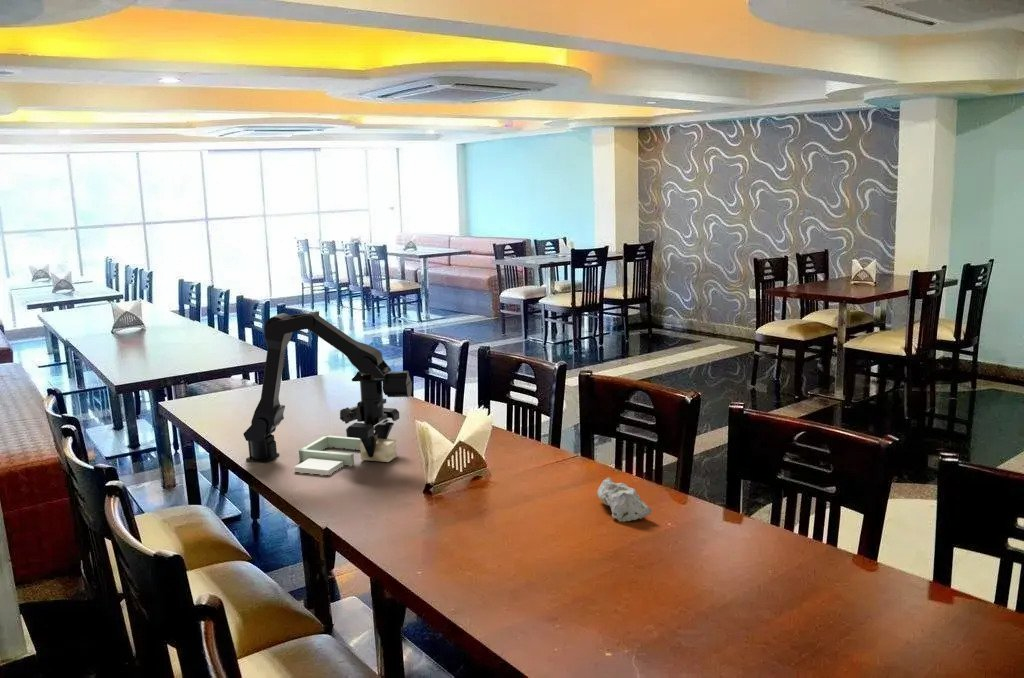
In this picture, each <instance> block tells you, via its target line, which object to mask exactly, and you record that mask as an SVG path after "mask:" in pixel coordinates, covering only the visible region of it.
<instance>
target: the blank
mask: <svg viewBox="0 0 1024 678" xmlns="http://www.w3.org/2000/svg"><path fill="white" fill-rule="evenodd" d="M359 451H360V460H361V461H372V462H373V461H374V462H383V463H389V462H390V461H392V460H394V459H395V458H396V457H397V456H398V453H397V451H398V450H397V440H396V439H392V438H391V439H390V438H387V439H381V438H377V441H376V446H375V450H374V454H373V457H369V456H368V454H367V452H366V450H365V447H364V445H363V443H362V442H361V443H360V450H359Z"/></svg>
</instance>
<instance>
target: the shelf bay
mask: <svg viewBox="0 0 1024 678" xmlns="http://www.w3.org/2000/svg"><path fill="white" fill-rule="evenodd" d="M361 442H362V441H361V439H359V438H351V437H347V436H341V435H340V436H338V435H328V434H327V435H324V436H322V437H320V438H318V439H317V440H315V441H313V442H311V443H309V444H308V445H305V446H304V447H302V448H301V449H299V450H298V459H299V462H302V461H305V460H307V459H309V458H314V459H325V460H335V461H343V465H349V466H348V467H353V466H354V465H355V456H354V453H347V452H337V451H327V450H326V449H327V448H332V447H335V448H334V449H343V448H345V449H344V450H346V449H347V450H355V449H356V451H360V443H361ZM325 448H326V449H325ZM323 449H324V450H323ZM352 465H353V466H352Z"/></svg>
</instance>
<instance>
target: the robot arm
mask: <svg viewBox="0 0 1024 678" xmlns="http://www.w3.org/2000/svg"><path fill="white" fill-rule="evenodd" d="M263 330H264V341H265V344H266V347H267V352H266V358H265V364H264V365H265V366H264V373H263V380H262V387H261V396H260V400H259V401H258V404H257V406H256V408H255V410H254V412H253V416H252V418H251V421H250V426H249V427H248V428H247V429H246V430H245V431H244V432H243V437H244V439H245V441H247V442H248V443H247V444H248V445H247V446H248V454H249V456H248V457H246V458H245V461H247V462H257V463H268V462H270V461H271V460H273V459H275V458H277V457H278V456H280V453H279V452H278V450H277V442H276V440H275V435H274V434H273V433H275V432H276V429H277V427H278V426H279V425H281V422H282V421H284V419H285V417H284V413H285V410H286V409H285V408H286V405H283V404H281V402H280V399H279V397H280V396H279V395H280V389H281V383H282V376H283V369H284V362H285V356H286V349H287V347H288V345H289V343H290V340H291V339H292V337H293V334H294V332H299V331H303V330H309V331H310V332H311V333H313V334H314V335H315V336H318V338H320V339H322V340H323V341H325V342H326V343H328V344H329V345H330V346H331V347H333V348H335V349H336V350H337V351H339V352H341V353H342V354H343V355H345V357H346V358H347V359H348V360H349V362H350V363H351V364H352V366H354V368H356V370H357V371H356V373H355V375H354V377H352V378H351V382H359V387H360V388H359V389H360V401H358V402H357V403H356V406H353V407H350V408H349V407H345V408H342V409H340V410H339V420H341V421H342V422H344V424H346V425H347V424H349V423H350V422H354V421H357V422H354V423H352V424H351V425H349V426H348V427H347V428H346V429H345V432H346V433H345V434H346V437H351V438H359V439H361V441H362V443H363V445H364V447H365V450H366V452H367V454H368V456H369V457H373V454H374V450H375V446H376V441H377V438H381V439H389V435H390V434H391V431H392V428H393V426H394V425H395V422H397V421H398V420H399V419H400V411H399V410H398V409H397V408H392V407H384V405H385V404H386V403H387V398H410V397H411V396H412V390H413V383H412V380H411V379H412V378H411V377H410V372H409V370H402V371H392V368H391V367H390V366H389V365H388V363H387V362H386V361H385V360H384V357H383V354H382V352H381V351H380V349H377V348H376V347H373V346H372V345H369V344H367V343H364V342H361V341H360V342H359V341H357V340H355V339H353V338H352V337H350V335H348V334H346V333H345V332H344V331H342V330H341V329H339V328H338V327H337V326H335V325H334V324H332V323H330V322H329V321H328V320H326V319H324V318H323V317H322V316H320V315H319V313H317V312H316V311H310V312H307V313H297V314H292V315H290V314H288V313H278V314H276V315H274V316H271V317H270V318H268V319H267V320H266V321H265V323H264V329H263ZM383 394H384V395H385V396H387V398H384V395H383ZM389 419H391V420H392V421H393V422H390V420H389Z"/></svg>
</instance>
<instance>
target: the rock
mask: <svg viewBox="0 0 1024 678" xmlns="http://www.w3.org/2000/svg"><path fill="white" fill-rule="evenodd" d="M596 495H597V497H598V498H599V499H600V500H602V502H603V503H604V505H606V506H609V507H610V510H611V517H612V518H613V519H616V520H617V521H618V522H620V523H621V522H631V521H636V520H642V518H644V517H647V516H650V515H651V514H652V513H651V512H652V509H651V508H650V507H649V506H648V505H647V503H646V502H644V501H643V500H642V499H641V497H640V495H639V494H638V493H637V489H635V488H633V487H629V486H628V485H627V484H626V483H623V482H616V483H615V482H614V481H613V480H612V478H611V477H606V479H605V478H604V480H602V482H601V484H600V485H599V487H598V490H597V492H596Z"/></svg>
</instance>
